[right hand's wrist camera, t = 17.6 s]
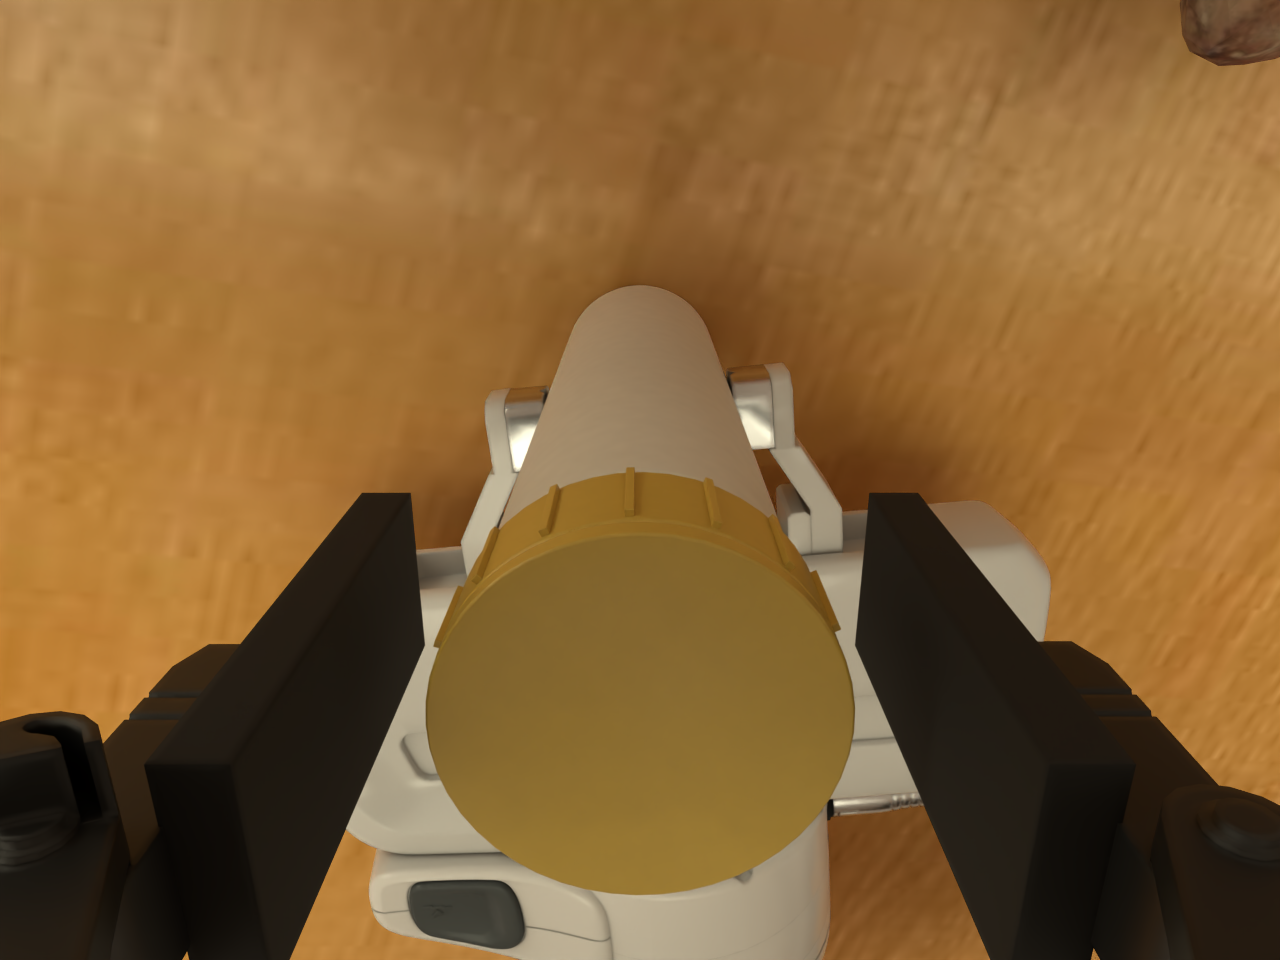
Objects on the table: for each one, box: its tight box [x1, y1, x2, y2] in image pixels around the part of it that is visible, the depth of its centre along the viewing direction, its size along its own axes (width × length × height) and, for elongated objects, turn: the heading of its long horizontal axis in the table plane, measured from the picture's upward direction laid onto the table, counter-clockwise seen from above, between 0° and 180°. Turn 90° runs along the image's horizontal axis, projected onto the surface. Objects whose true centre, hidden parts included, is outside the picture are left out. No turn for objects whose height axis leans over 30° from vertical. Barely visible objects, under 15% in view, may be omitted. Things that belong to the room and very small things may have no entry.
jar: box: [498, 285, 778, 530], centre depth 20 cm, size 5×5×19 cm
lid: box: [426, 467, 855, 895], centre depth 11 cm, size 5×5×2 cm
